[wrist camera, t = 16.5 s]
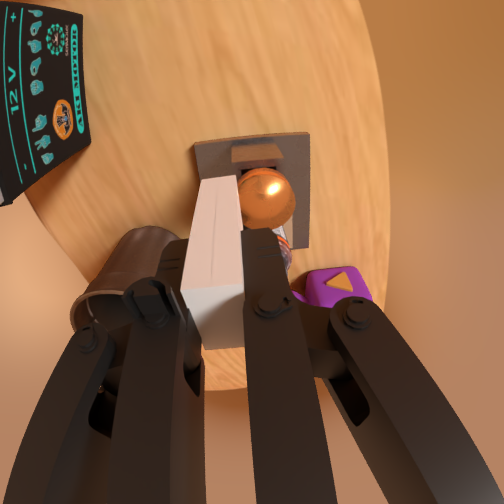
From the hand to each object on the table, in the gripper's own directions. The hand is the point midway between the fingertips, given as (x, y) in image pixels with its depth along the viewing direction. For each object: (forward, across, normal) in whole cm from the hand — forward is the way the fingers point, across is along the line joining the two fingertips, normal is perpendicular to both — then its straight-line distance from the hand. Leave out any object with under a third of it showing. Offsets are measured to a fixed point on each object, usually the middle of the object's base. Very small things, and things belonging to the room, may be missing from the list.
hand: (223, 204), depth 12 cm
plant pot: (+23, -14, -20) cm, 33 cm away
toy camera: (+23, +12, -30) cm, 39 cm away
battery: (+24, -22, +10) cm, 34 cm away
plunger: (+16, +3, -6) cm, 18 cm away
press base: (+23, +2, -11) cm, 26 cm away
